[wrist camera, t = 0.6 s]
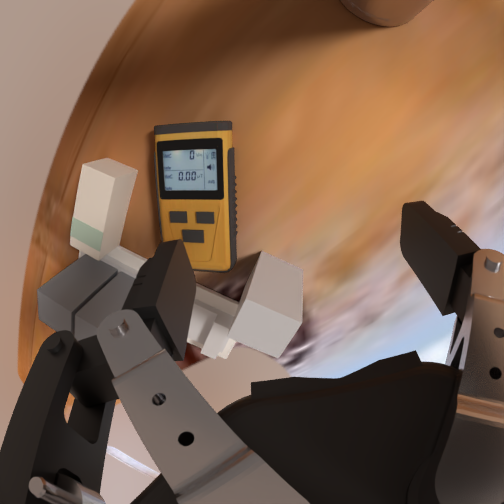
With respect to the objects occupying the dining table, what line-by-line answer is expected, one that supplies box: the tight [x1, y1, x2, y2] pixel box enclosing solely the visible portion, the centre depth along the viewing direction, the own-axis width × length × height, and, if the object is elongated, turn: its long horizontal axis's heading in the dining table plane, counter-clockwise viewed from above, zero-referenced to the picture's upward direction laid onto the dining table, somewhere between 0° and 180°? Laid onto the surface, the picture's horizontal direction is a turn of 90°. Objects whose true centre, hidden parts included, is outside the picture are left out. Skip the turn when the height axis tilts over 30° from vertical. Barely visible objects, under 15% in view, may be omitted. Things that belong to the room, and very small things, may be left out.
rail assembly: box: [37, 245, 239, 359], centre depth 33 cm, size 9×24×12 cm, turn 67°
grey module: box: [227, 251, 303, 358], centre depth 30 cm, size 5×5×10 cm
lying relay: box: [70, 158, 138, 261], centre depth 32 cm, size 10×4×5 cm, turn 157°
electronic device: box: [154, 121, 237, 273], centre depth 31 cm, size 8×16×3 cm, turn 0°
